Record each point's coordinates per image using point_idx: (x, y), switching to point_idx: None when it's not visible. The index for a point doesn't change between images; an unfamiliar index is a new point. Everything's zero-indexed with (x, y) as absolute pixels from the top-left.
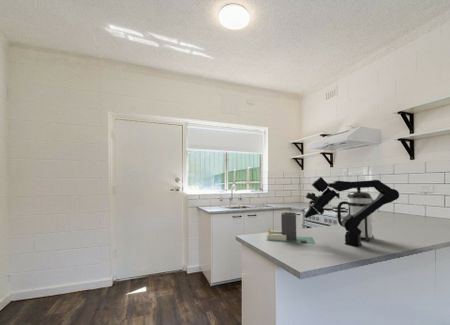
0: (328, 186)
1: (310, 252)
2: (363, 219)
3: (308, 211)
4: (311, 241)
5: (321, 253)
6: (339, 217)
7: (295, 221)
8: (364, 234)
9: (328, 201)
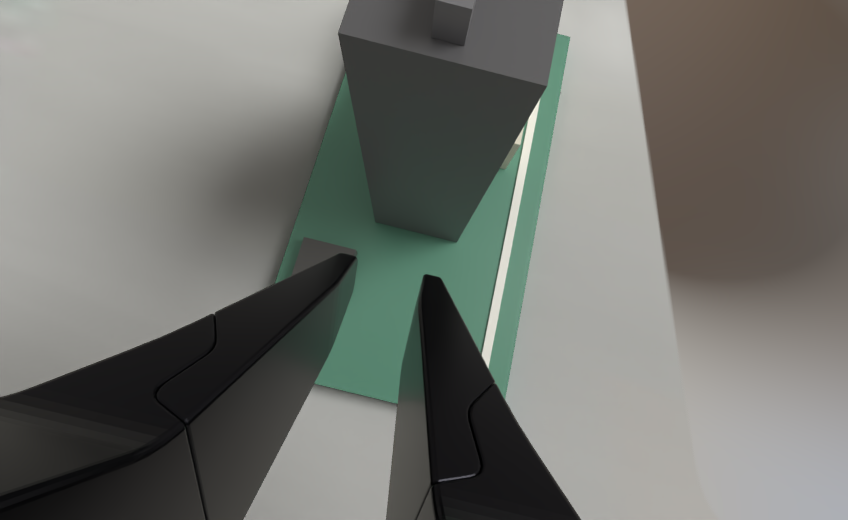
0: None
1: (71, 243)
2: None
3: (233, 333)
4: (336, 356)
5: (27, 326)
6: None
7: (358, 112)
8: None
9: None
